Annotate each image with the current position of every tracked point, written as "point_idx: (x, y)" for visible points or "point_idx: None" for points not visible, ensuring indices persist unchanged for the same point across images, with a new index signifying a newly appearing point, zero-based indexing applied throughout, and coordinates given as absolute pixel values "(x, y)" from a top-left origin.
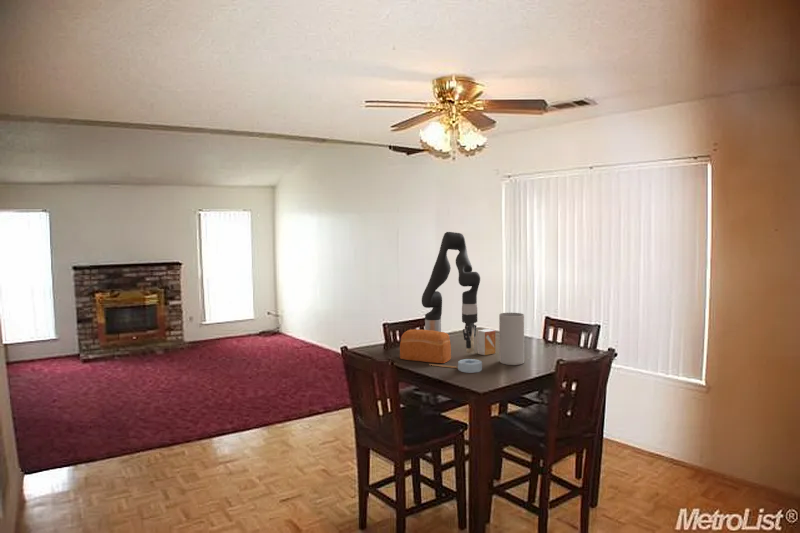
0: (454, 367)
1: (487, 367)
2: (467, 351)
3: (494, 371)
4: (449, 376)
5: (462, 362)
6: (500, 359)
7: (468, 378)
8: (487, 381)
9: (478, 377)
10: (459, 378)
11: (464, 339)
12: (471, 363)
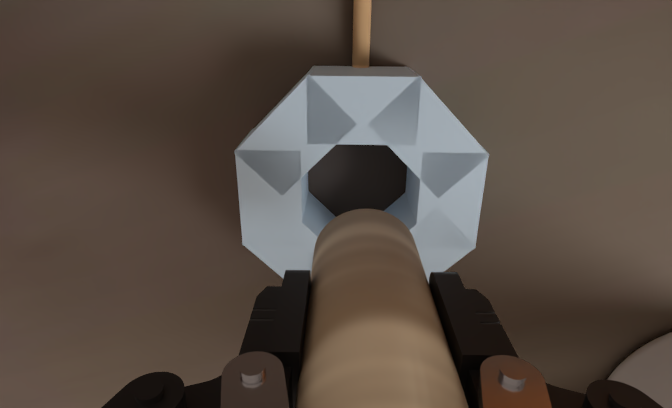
0: (353, 7)
1: (483, 280)
2: (317, 245)
3: None
4: (51, 74)
5: (293, 139)
6: (669, 357)
7: (95, 243)
8: (106, 372)
9: (164, 298)
10: (51, 179)
11: (130, 389)
12: (293, 237)
